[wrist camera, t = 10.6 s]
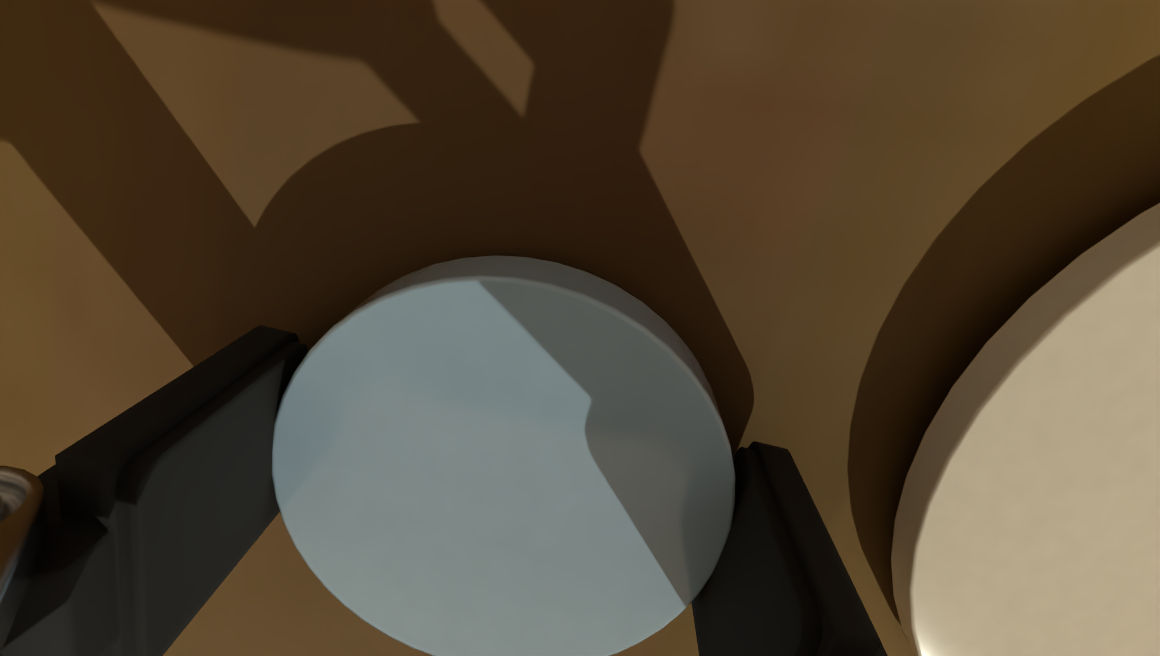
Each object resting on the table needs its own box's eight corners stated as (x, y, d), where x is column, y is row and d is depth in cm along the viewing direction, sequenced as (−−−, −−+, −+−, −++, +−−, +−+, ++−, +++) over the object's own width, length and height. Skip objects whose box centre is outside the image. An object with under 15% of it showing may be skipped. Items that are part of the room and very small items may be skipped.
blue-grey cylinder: (333, 199, 9) (281, 219, 8) (780, 309, 10) (809, 348, 8) (303, 555, 12) (259, 620, 11) (655, 635, 12) (660, 709, 11)
